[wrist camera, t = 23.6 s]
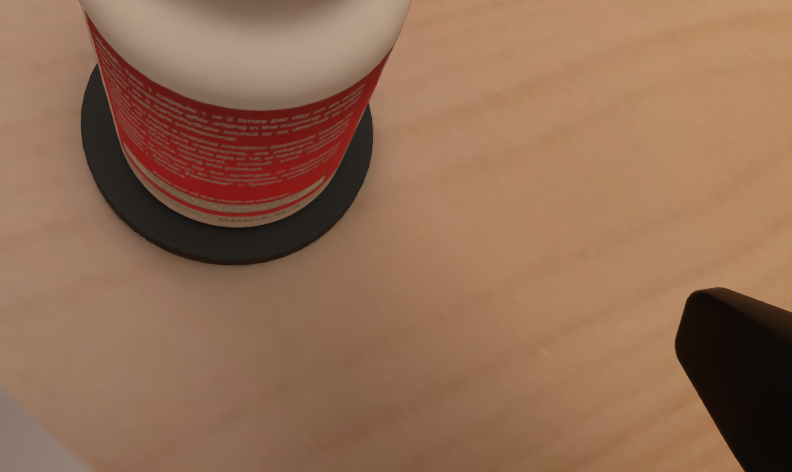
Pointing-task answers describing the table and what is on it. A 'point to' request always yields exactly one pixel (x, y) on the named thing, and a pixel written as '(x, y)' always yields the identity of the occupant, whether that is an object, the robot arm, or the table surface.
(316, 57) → the pill bottle
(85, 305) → the table surface
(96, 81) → the coaster
